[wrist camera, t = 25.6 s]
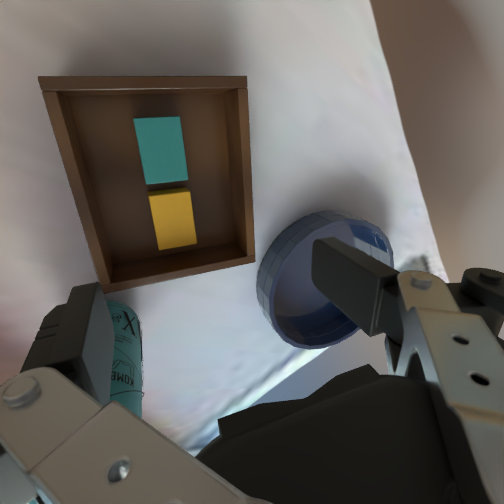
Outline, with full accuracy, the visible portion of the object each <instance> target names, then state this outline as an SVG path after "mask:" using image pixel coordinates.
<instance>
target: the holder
mask: <svg viewBox="0 0 504 504" xmlns="http://www.w3.org/2000/svg"><path fill="white" fill-rule="evenodd" d="M38 81H39V84H40V87H41V90H42V94H43V98H44V101H45V104H46V107H47V111H48V114H49V117H50V121H51V124H52V127H53V131H54V134H55V137H56V141H57V144H58V147H59V151H60V154H61V157H62V161H63V164H64V167H65V170H66V174H67V177H68V180H69V184H70V187H71V190H72V194H73V197H74V200H75V204H76V207H77V210H78V214H79V217H80V220H81V223H82V227H83V230H84V233H85V237H86V240H87V243H88V247H89V250H90V253H91V257H92V260H93V263H94V267H95V270H96V273H97V276H98V280H99V283H100V284H101V287H102V290H103V293H104V294H106V293H111V292H115V291H120V290H125V289H130V288H134V287H139V286H144V285H149V284H153V283H158V282H163V281H168V280H172V279H177V278H182V277H187V276H191V275H196V274H201V273H206V272H211V271H215V270H220V269H225V268H230V267H234V266H239V265H244V264H249V263H253V262H255V241H254V219H253V198H252V176H251V155H250V133H249V111H248V90H247V76H38ZM168 116H180V121H181V128H182V135H183V143H184V150H185V157H186V165H187V172H188V180H183V181H174V182H165V183H156V184H146V182H145V177H144V172H143V167H142V162H141V157H140V152H139V146H138V141H137V136H136V131H135V126H134V121H133V118H146V117H168ZM184 187H186V188H187V189H188V190H189V191H190V195H191V202H192V210H193V217H194V224H195V232H196V239H197V244H192V245H186V246H180V247H175V248H169V249H164V250H159V248H158V243H157V238H156V233H155V228H154V223H153V218H152V213H151V208H150V203H149V198H148V192H150V191H159V190H167V189H176V188H184Z"/></svg>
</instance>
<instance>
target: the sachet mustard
mask: <svg viewBox="0 0 504 504" xmlns="http://www.w3.org/2000/svg"><path fill="white" fill-rule="evenodd" d="M148 198H149V203H150V208H151V213H152V218H153V223H154V228H155V233H156V238H157V243H158V248H159V250H164V249H169V248H175V247H180V246H186V245H192V244H197V239H196V232H195V224H194V217H193V210H192V202H191V195H190V191H189V190H188V189H187V188H186V187H184V188H176V189H167V190H159V191H150V192H148Z"/></svg>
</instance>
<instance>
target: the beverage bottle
mask: <svg viewBox="0 0 504 504" xmlns="http://www.w3.org/2000/svg"><path fill="white" fill-rule="evenodd" d="M106 303H107V306H108V309H109V312H110V316H111V319H112V323H113V328H114V350H113V362H112V374H111V386H110V398H109V402H110V401H111V400H114V401H117V402H119V403H121V404H122V405H123V406H125V407H126V408H128V409H129V410H130V411H132V412H133V413H134V414H136V415H137V416H139V417H140V418H141V419H142V397H143V396H144V395H143V396H142V393H143V392H142V385H143V384H142V383H143V380H144V379H143V380H142V373H141V362H142V358H143V357H142V356H143V355H142V335H141V334H142V333H141V330H140V322H139V321H141V320H139V319H140V318H139V319H138V317H137V315H136V314H135V312H134V311H133V310H132V309H131V308H130V307H128V306H127V305H125V304H123V303H120V302H116V301H106ZM141 326H142V325H141ZM142 363H143V362H142ZM142 366H143V365H142ZM142 372H143V373H144V371H142ZM143 376H144V375H143ZM143 394H144V393H143ZM28 504H38V503H37V502H36V501H35V500H32V501H31V502H29V503H28Z"/></svg>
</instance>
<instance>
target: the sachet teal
mask: <svg viewBox="0 0 504 504" xmlns="http://www.w3.org/2000/svg"><path fill="white" fill-rule="evenodd" d="M133 121H134V126H135V131H136V136H137V141H138V146H139V152H140V157H141V162H142V167H143V172H144V177H145V182H146V184H156V183H165V182H174V181H183V180H188V172H187V165H186V157H185V150H184V143H183V135H182V128H181V121H180V116H168V117H146V118H133Z"/></svg>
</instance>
